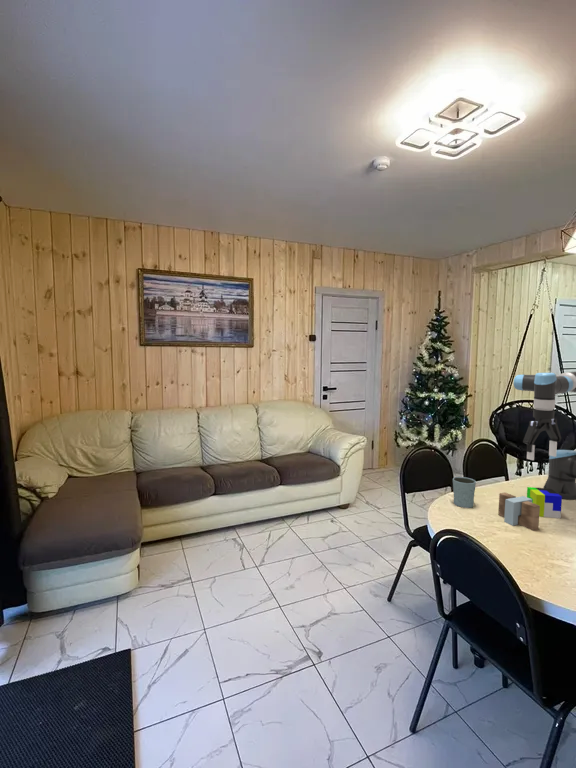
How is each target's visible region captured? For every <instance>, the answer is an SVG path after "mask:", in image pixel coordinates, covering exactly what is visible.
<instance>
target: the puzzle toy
mask: <svg viewBox="0 0 576 768" xmlns="http://www.w3.org/2000/svg"><path fill="white" fill-rule="evenodd" d="M526 489H527V490H526V497H527V498H530V499H532V503H534V504H537V505H539V506H540V512H539V518H550V519H561V515H562V505H563V504H562V502H563V499H562V496H561V495H559V494H558V493H556V492H555V491H554V490H552V489H548V488H543V487H533V486H532V487H531V486H527V487H526Z"/></svg>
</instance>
